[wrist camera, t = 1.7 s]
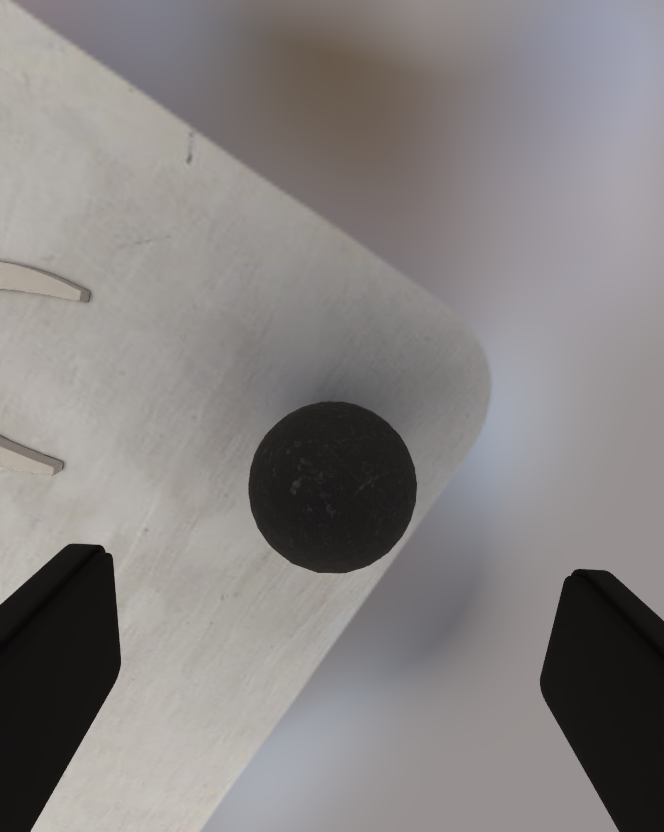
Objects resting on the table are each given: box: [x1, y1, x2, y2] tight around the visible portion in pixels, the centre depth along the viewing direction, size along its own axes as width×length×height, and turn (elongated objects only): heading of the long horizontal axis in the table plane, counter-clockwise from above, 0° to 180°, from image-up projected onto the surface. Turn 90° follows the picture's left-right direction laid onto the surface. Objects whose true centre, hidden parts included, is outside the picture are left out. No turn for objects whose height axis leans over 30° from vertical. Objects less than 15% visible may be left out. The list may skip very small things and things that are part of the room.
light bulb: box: [249, 402, 417, 573], centre depth 16 cm, size 6×6×10 cm
